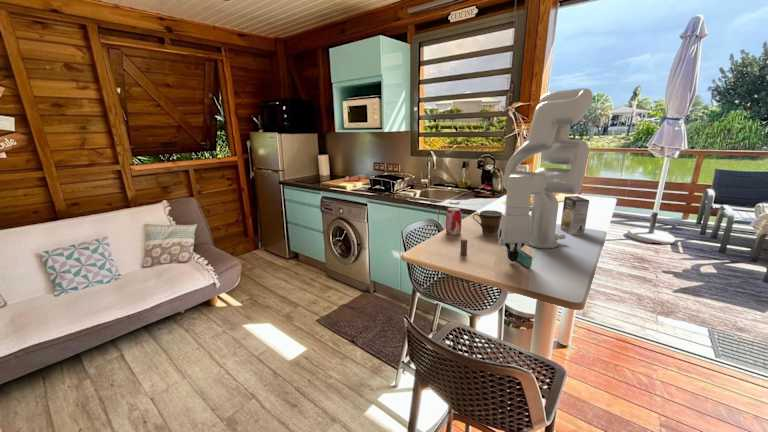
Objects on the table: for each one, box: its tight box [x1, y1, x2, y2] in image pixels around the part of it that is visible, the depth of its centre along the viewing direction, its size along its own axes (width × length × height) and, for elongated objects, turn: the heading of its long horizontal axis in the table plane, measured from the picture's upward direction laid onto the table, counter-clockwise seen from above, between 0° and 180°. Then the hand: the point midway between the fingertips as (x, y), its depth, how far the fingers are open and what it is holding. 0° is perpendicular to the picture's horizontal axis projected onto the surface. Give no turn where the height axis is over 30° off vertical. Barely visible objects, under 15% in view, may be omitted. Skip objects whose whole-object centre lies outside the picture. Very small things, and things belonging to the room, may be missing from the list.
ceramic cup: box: [472, 209, 503, 237], centre depth 141 cm, size 13×10×10 cm
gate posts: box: [459, 238, 514, 257], centre depth 118 cm, size 22×2×6 cm, turn 96°
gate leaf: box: [506, 245, 533, 268], centre depth 111 cm, size 14×2×4 cm, turn 7°
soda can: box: [445, 206, 462, 236], centre depth 142 cm, size 7×7×12 cm
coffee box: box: [559, 195, 590, 236], centre depth 139 cm, size 9×6×16 cm
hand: (512, 260), depth 109 cm, fingers closed
